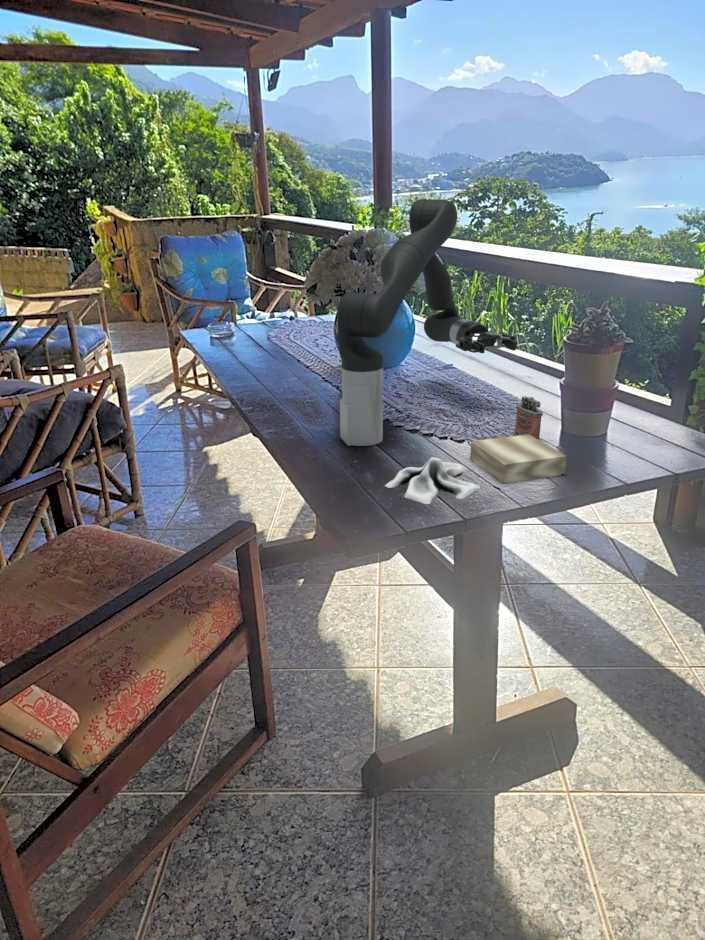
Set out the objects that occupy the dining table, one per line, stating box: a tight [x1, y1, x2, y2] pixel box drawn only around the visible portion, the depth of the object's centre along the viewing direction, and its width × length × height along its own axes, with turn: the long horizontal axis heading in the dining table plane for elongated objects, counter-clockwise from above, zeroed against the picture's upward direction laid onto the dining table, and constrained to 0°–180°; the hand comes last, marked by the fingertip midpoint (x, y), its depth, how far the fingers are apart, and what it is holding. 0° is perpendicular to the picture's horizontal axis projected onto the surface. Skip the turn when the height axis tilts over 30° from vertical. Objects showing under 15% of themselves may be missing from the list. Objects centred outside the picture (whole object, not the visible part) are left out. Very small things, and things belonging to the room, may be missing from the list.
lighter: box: [513, 395, 544, 441], centre depth 152 cm, size 8×3×10 cm, turn 21°
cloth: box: [384, 457, 481, 505], centre depth 130 cm, size 22×19×6 cm
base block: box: [469, 434, 567, 484], centre depth 138 cm, size 14×14×4 cm
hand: (499, 347), depth 161 cm, fingers open, 8 cm apart
